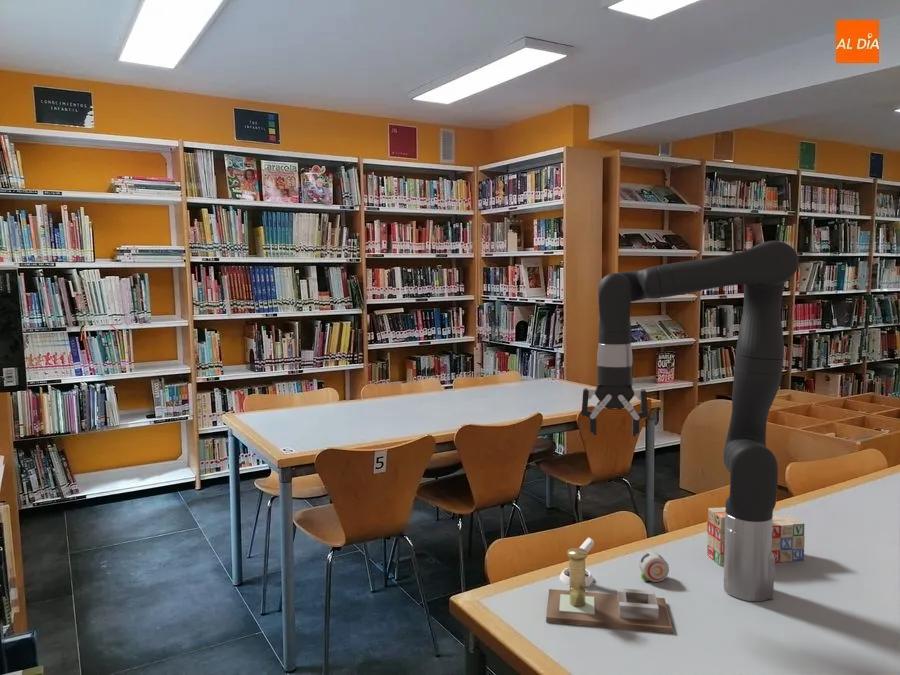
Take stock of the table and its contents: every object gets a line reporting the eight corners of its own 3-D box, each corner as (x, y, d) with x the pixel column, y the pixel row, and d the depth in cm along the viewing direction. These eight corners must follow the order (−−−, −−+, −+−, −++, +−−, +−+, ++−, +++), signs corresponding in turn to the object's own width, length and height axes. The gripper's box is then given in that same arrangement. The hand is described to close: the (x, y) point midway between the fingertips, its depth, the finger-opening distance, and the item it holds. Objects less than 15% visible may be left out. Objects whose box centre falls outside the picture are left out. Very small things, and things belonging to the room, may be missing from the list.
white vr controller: (619, 564, 143) (595, 550, 141) (585, 603, 145) (561, 590, 144) (607, 544, 150) (584, 530, 148) (576, 582, 152) (553, 568, 151)
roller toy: (636, 574, 149) (637, 550, 149) (663, 573, 150) (664, 549, 149) (643, 583, 145) (643, 558, 145) (671, 582, 145) (671, 557, 145)
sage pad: (594, 598, 137) (594, 596, 137) (594, 614, 130) (594, 613, 130) (560, 595, 138) (560, 594, 138) (559, 611, 131) (559, 610, 131)
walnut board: (664, 602, 136) (664, 586, 136) (672, 633, 125) (672, 615, 124) (549, 593, 141) (549, 577, 141) (546, 621, 129) (546, 605, 129)
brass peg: (587, 599, 135) (587, 548, 135) (587, 608, 132) (587, 556, 131) (567, 598, 136) (567, 547, 135) (567, 607, 132) (567, 555, 131)
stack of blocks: (787, 550, 162) (789, 502, 161) (804, 561, 155) (806, 511, 154) (706, 556, 159) (707, 507, 158) (720, 567, 153) (721, 516, 152)
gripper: (646, 361, 146) (645, 432, 147) (581, 361, 149) (581, 430, 150) (649, 366, 139) (648, 440, 140) (581, 365, 142) (581, 438, 143)
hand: (614, 435), depth 145 cm, fingers open, 8 cm apart
